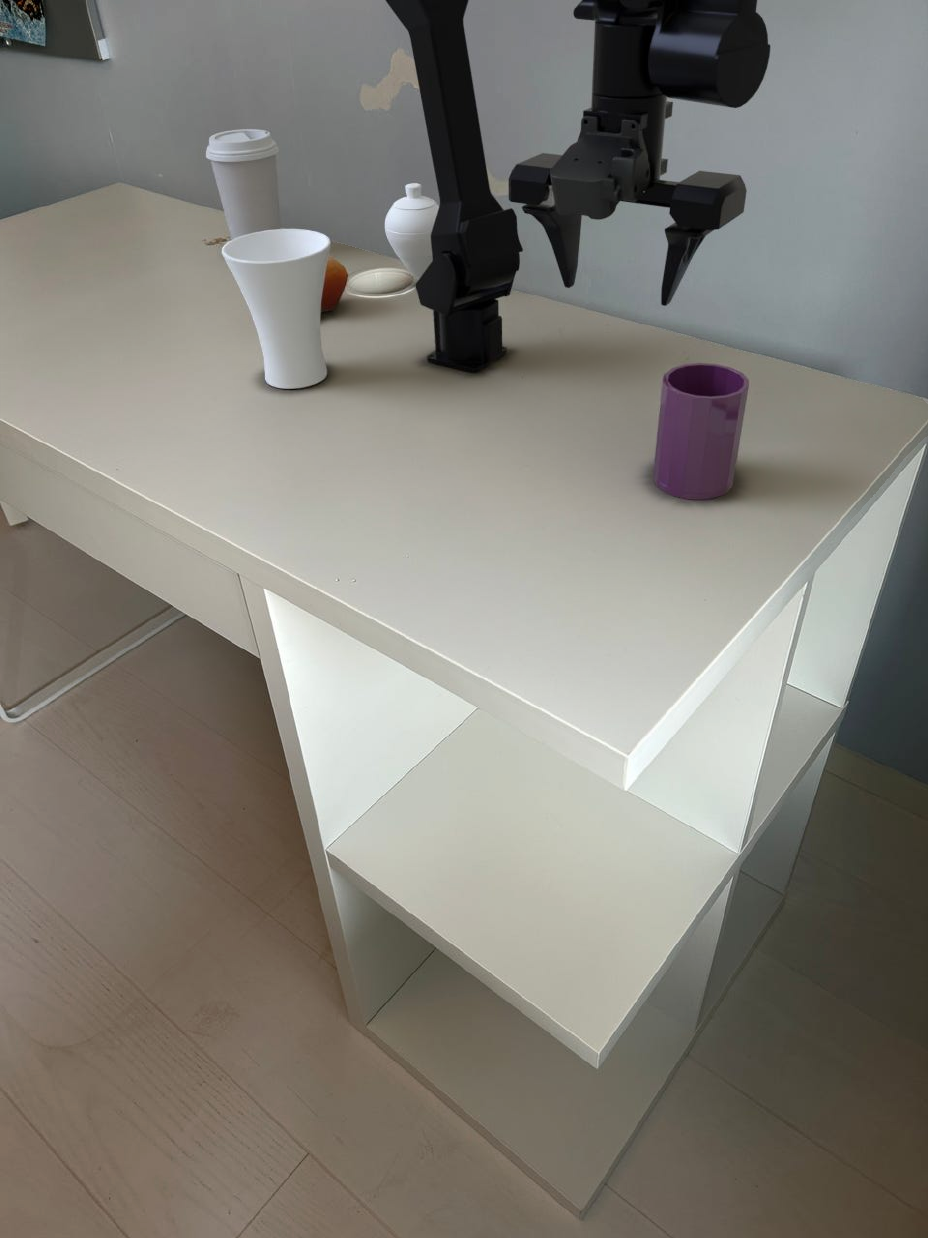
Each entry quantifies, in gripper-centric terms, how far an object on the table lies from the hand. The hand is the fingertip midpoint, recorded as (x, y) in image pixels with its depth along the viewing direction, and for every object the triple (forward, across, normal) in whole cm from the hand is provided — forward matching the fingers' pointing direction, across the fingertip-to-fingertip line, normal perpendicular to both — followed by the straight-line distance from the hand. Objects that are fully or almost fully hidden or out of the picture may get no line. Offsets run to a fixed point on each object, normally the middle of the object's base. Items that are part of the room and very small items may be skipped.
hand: (616, 295), depth 82 cm
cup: (+12, -33, -7) cm, 36 cm away
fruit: (+12, -44, +9) cm, 47 cm away
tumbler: (+12, +11, -6) cm, 17 cm away
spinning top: (+12, -38, +22) cm, 46 cm away
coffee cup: (+12, -66, +22) cm, 71 cm away
